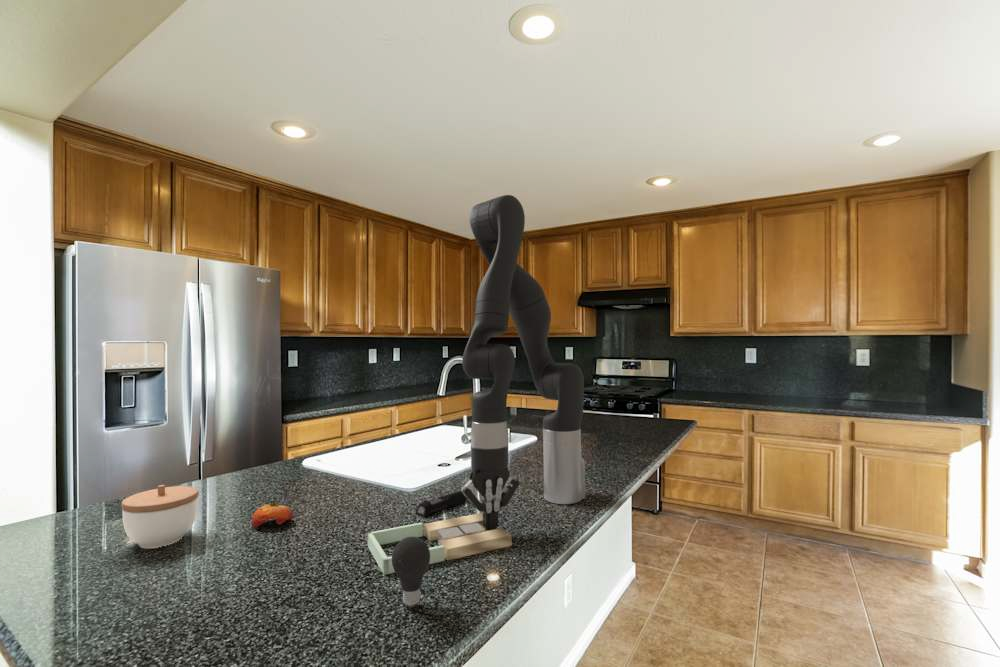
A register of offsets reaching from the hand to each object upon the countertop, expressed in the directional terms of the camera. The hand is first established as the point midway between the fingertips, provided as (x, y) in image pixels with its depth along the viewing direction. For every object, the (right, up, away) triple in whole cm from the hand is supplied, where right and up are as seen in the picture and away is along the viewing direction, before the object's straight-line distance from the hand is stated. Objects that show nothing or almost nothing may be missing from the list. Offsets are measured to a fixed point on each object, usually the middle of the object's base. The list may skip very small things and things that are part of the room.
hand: (490, 529), depth 97 cm
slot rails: (-5, -1, -2) cm, 5 cm away
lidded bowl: (-66, -2, -1) cm, 66 cm away
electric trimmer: (-11, -2, +17) cm, 20 cm away
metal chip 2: (-4, -1, -2) cm, 4 cm away
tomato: (-47, -2, +7) cm, 48 cm away
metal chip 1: (-8, -1, -4) cm, 9 cm away
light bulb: (-11, -1, -26) cm, 28 cm away
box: (-16, -1, -8) cm, 18 cm away
